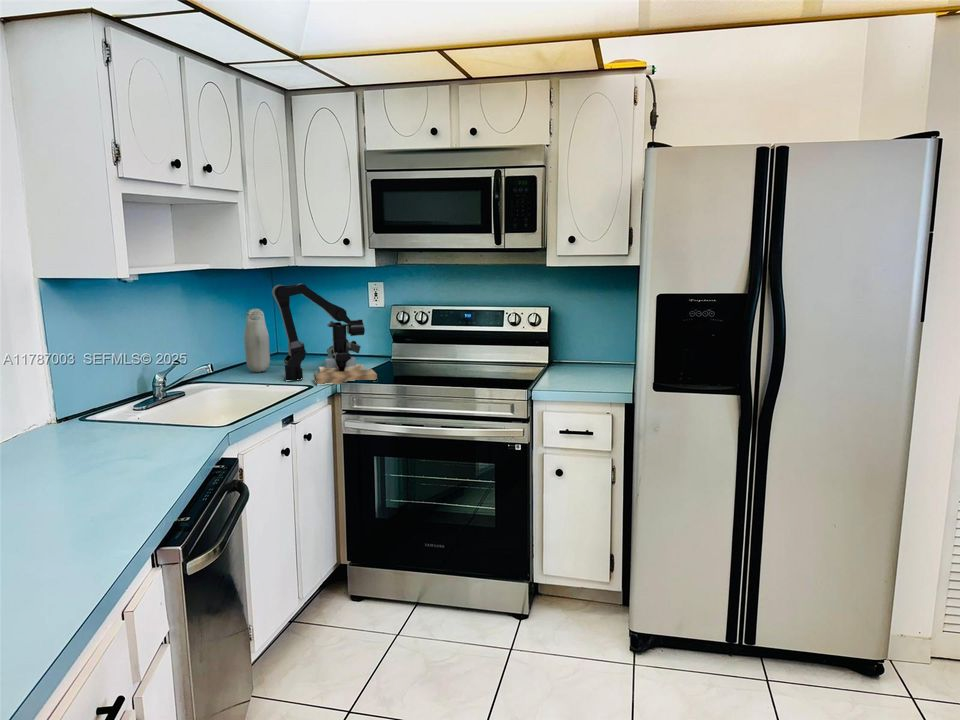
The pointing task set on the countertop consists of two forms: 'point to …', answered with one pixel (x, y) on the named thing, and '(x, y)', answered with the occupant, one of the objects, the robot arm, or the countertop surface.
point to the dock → (344, 376)
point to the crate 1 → (331, 363)
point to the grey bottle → (256, 341)
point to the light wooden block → (325, 370)
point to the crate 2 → (351, 362)
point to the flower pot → (330, 352)
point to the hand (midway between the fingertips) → (341, 373)
